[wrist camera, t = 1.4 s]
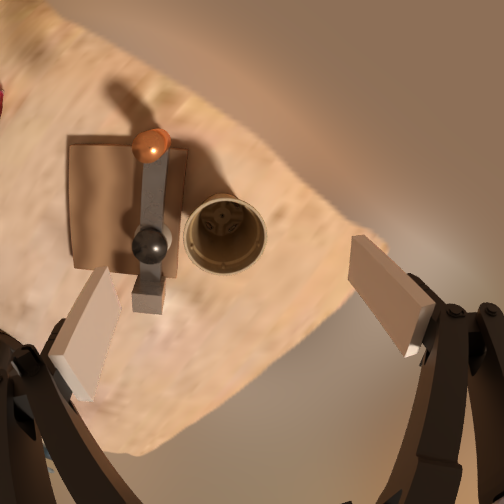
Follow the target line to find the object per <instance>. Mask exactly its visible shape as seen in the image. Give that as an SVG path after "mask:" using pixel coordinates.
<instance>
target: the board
mask: <svg viewBox="0 0 504 504" xmlns="http://www.w3.org/2000/svg"><path fill="white" fill-rule="evenodd" d="M187 155H188V149H184V148H172V147H170V154H169V164H168V174H167V184H166V196H165V210H164V226H163V234H164V236H165V237H166V239H167V242H168V249H167V253H166V256H165V258H164V259H163V260H162V276H166V278H176V277H177V267H178V250H179V236H180V223H181V211H182V200H183V190H184V181H185V172H186V163H187ZM143 165H144V163H142V162H140V161H138V160H137V159H136V158H135V157H134V155H133V153H132V145H121V144H73V145H70V151H69V211H70V229H71V242H72V252H73V261H74V268H77V269H86V270H94V269H95V268H97V267H105V266H108V269H109V272H113V273H123V274H133V275H138V274H140V261H139V260H138V259H137V258H136V257H135V256H134V254H133V252H132V242H133V239H134V237H135V236H136V234H137V233H138V232H139V231H140V218H141V195H142V178H143Z"/></svg>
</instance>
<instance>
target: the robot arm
mask: <svg viewBox="0 0 504 504" xmlns="http://www.w3.org/2000/svg"><path fill="white" fill-rule="evenodd" d="M348 280H349V282H350V283H351V284H352V285H353V287H354V288H355V289H356V291H357V292H358V293H359V295H360V296H361V298H362V299H363V300H364V301H365V303H366V304H367V305H368V307H369V308H370V310H371V311H372V312H373V314H374V315H375V317H376V318H377V319H378V321H379V322H380V324H381V325H382V326H383V328H384V329H385V331H386V332H387V333H388V335H389V336H390V338H391V339H392V340H393V342H394V343H395V345H396V346H397V348H398V349H399V351H400V352H401V354H402V355H403V356H404V358H405V357H408V356H411V355H414V354H417V353H418V352H419V349H420V347H421V344H422V343H423V345H424V346H425V347H426V351H425V353H424V355H423V358H422V360H421V363H420V366H422V368H421V373H420V378H419V383H418V387H417V391H416V395H415V400H414V404H413V407H412V411H411V415H410V419H409V423H408V426H407V429H406V432H405V436H404V439H403V442H402V445H401V448H400V451H399V454H398V457H397V459H396V462H395V465H394V468H393V470H392V473H391V475H390V478H389V481H388V483H387V485H386V487H385V489H384V490H383V492H382V493H381V495H380V496H379V498H378V500H377V502H376V504H455V500H456V496H457V493H458V489H459V485H460V481H461V477H462V465H460V464H458V461H457V460H458V454H459V449H460V443H461V437H462V431H463V424H464V416H465V407H466V396H467V386H468V391H469V397H470V402H471V409H472V416H473V423H474V431H475V441H476V453H477V469H478V499H479V504H504V315H503V313H502V311H501V310H500V308H499V307H497V306H496V305H495V304H492V303H488V302H486V303H482V304H481V305H480V307H479V309H478V312H473V313H467V312H466V311H465V310H464V309H463V308H462V307H460V306H458V305H456V304H445V303H444V302H443V301H442V300H441V299H440V298H439V297H438V296H437V295H436V294H435V293H434V292H433V291H432V290H431V289H430V288H429V287H428V286H427V285H425V283H424V282H423V281H422V280H421V279H420V278H419V277H417V276H415V275H413V274H411V273H408V274H406V273H405V272H404V271H403V270H402V269H401V268H400V267H399V266H398V265H397V264H396V263H395V262H394V261H392V260H391V259H390V258H389V257H388V256H387V255H386V254H385V253H384V252H383V251H382V250H381V249H379V248H378V247H377V246H376V245H375V244H374V243H373V242H372V241H371V240H369V239H368V238H367V237H366V236H365V235H357V236H352V241H351V253H350V264H349V274H348ZM121 310H122V307H121V304H120V302H119V299H118V296H117V293H116V290H115V287H114V284H113V281H112V278H111V275H110V272H109V269H108V266H105V267H97V268H95V269H94V271H93V273H92V274H91V276H90V277H89V279H88V281H87V282H86V284H85V286H84V288H83V289H82V291H81V293H80V294H79V296H78V298H77V300H76V302H75V303H74V305H73V307H72V309H71V311H70V312H69V314H68V316H67V318H63V319H61V320H60V321H59V322H58V323H57V324H56V325H55V327H54V329H53V331H52V332H51V335H50V336H49V338H48V341H47V342H46V344H45V346H44V348H43V350H42V352H41V354H40V355H39V353H38V351H37V350H36V348H35V347H34V345H31V344H26V345H23V346H22V345H21V344H20V343H19V342H18V341H16V340H15V339H13V338H12V337H10V336H8V335H6V334H3V333H0V504H56V500H55V497H54V493H53V489H52V486H51V482H50V478H49V473H48V469H47V465H46V459H45V454H44V449H43V443H42V438H43V441H44V443H45V445H46V448H47V450H48V452H49V454H50V456H51V458H52V460H53V462H54V464H55V466H56V468H57V470H58V472H59V474H60V476H61V478H62V480H63V482H64V483H65V485H66V487H67V489H68V491H69V492H70V494H71V496H72V497H73V499H74V501H75V502H76V504H143V503H142V502H141V501H140V500H139V499H138V497H137V496H136V495H135V494H134V493H133V491H132V490H131V489H130V488H129V487H128V485H127V484H126V483H125V482H124V480H123V479H122V478H121V476H120V475H119V474H118V472H117V471H116V470H115V468H114V467H113V466H112V464H111V463H110V462H109V460H108V459H107V457H106V456H105V454H104V453H103V451H102V450H101V448H100V447H99V445H98V444H97V442H96V441H95V439H94V438H93V436H92V435H91V433H90V431H89V430H88V428H87V426H86V425H85V423H84V421H83V420H82V418H81V416H80V415H79V413H78V411H77V409H76V407H75V406H74V404H73V403H72V401H71V400H70V398H71V395H72V393H73V394H74V395H75V397H76V398H77V399H78V401H90V402H93V401H94V397H95V393H96V390H97V386H98V382H99V379H100V375H101V372H102V368H103V365H104V362H105V358H106V355H107V352H108V349H109V345H110V342H111V339H112V336H113V333H114V330H115V327H116V324H117V321H118V318H119V315H120V313H121ZM41 436H42V437H41ZM342 504H352V502H351V501H349V502H345V503H342Z"/></svg>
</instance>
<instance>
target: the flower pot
mask: <svg viewBox="0 0 504 504" xmlns="http://www.w3.org/2000/svg"><path fill="white" fill-rule="evenodd" d="M233 202H236V203H238V204H239V208H237V206H236V205H235V204H234V203H233ZM211 203H213V204H211ZM209 204H210V205H209ZM221 215H224V217H221ZM206 222H208V223H209V224H210V225H211V226H212V227H213V228H212V229H209V228H208V226H207V225H206ZM235 224H236V226H235V228H234V229H232V230H231V231H229V228H231V227H232V226H233V225H235ZM183 241H184V247H185V250H186V253H187V255H188V257H189V258H190V260H191V261H192V262H193V263H194V264H195V265H196V266H197V267H199V268H200V269H202V270H203V271H205V272H208V273H211V274H214V275H219V276H229V275H234V274H238V273H241V272H243V271H245V270H247V269H248V268H250V267H251V266H252V265H254V264H255V263H256V262H257V261H258V260H259V258H260V257H261V255H262V254H263V252H264V249H265V246H266V243H267V229H266V225H265V222H264V220H263V218H262V217H261V215H260V214H259V212H258V211H257V210H256V209H255V208H254V207H252V206H251V205H250V204H248V203H246V202H244V201H242V200H239V199H237V198H236V197H234V196H233V195H230V194H225V193H220V194H215V195H213V196H211V197H209V198H208V199H206V200H205V202H204V203H203V204H202V205H200V206H199V207H198V208H197V209H196V210H195V211H194V212H193V213H192V214H191V215H190V217H189V218H188V220H187V222H186V225H185V228H184V234H183Z"/></svg>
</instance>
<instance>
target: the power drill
mask: <svg viewBox="0 0 504 504" xmlns="http://www.w3.org/2000/svg"><path fill="white" fill-rule="evenodd" d="M3 96H4V90H0V117H1V113H2V108H3V106H2V102H3Z"/></svg>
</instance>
